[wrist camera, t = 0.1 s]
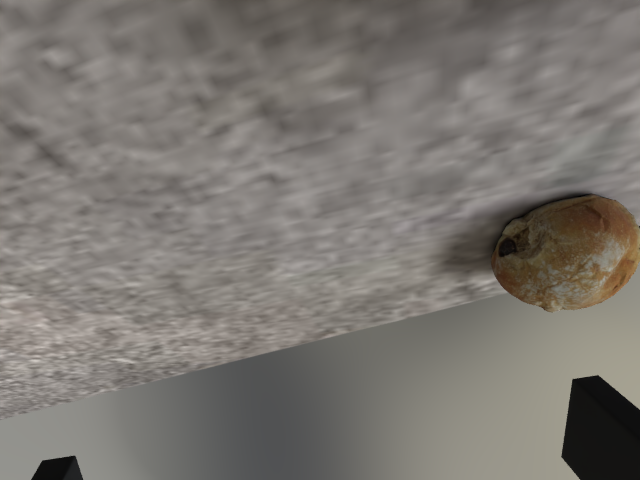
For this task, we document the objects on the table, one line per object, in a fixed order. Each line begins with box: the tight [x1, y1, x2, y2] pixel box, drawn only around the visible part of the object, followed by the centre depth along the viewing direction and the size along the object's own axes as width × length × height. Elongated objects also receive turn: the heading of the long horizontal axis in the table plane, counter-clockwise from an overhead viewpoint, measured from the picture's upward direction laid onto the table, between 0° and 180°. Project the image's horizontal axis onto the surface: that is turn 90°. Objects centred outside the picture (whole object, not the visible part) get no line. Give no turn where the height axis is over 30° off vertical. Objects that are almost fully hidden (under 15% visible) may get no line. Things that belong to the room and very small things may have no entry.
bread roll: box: [491, 194, 640, 312], centre depth 33 cm, size 10×10×8 cm
